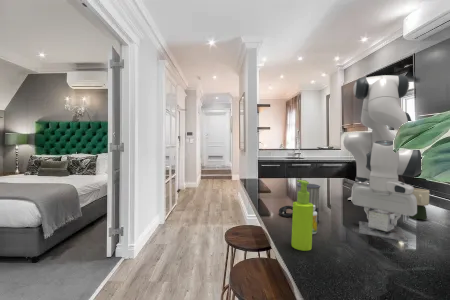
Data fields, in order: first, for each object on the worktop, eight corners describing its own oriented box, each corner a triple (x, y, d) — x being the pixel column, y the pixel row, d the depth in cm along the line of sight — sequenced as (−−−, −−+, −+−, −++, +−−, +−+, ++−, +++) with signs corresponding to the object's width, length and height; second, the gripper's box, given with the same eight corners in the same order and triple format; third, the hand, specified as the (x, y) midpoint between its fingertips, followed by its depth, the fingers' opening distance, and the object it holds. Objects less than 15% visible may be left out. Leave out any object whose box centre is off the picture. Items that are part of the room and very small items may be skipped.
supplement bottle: (317, 231, 88) (319, 204, 88) (315, 235, 84) (316, 207, 83) (302, 228, 91) (303, 202, 91) (299, 232, 86) (300, 205, 86)
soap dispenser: (306, 241, 78) (308, 179, 78) (314, 251, 72) (317, 182, 71) (288, 241, 78) (290, 178, 78) (294, 250, 71) (297, 182, 71)
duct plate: (359, 222, 100) (359, 212, 100) (400, 229, 93) (401, 218, 93) (359, 233, 88) (360, 221, 87) (407, 241, 81) (408, 229, 81)
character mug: (405, 214, 114) (407, 186, 114) (425, 217, 110) (427, 188, 110) (409, 220, 105) (410, 190, 104) (430, 223, 101) (432, 192, 101)
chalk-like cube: (368, 226, 91) (369, 210, 91) (375, 223, 95) (376, 208, 95) (386, 231, 86) (388, 215, 86) (393, 228, 90) (394, 212, 90)
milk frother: (320, 226, 94) (322, 187, 94) (278, 222, 97) (280, 184, 97) (315, 215, 108) (316, 182, 108) (278, 212, 111) (279, 179, 111)
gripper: (350, 181, 96) (348, 216, 96) (415, 190, 80) (412, 231, 81) (356, 180, 100) (354, 213, 100) (419, 188, 85) (417, 227, 85)
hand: (381, 221), depth 90 cm, fingers closed on chalk-like cube, 6 cm apart
